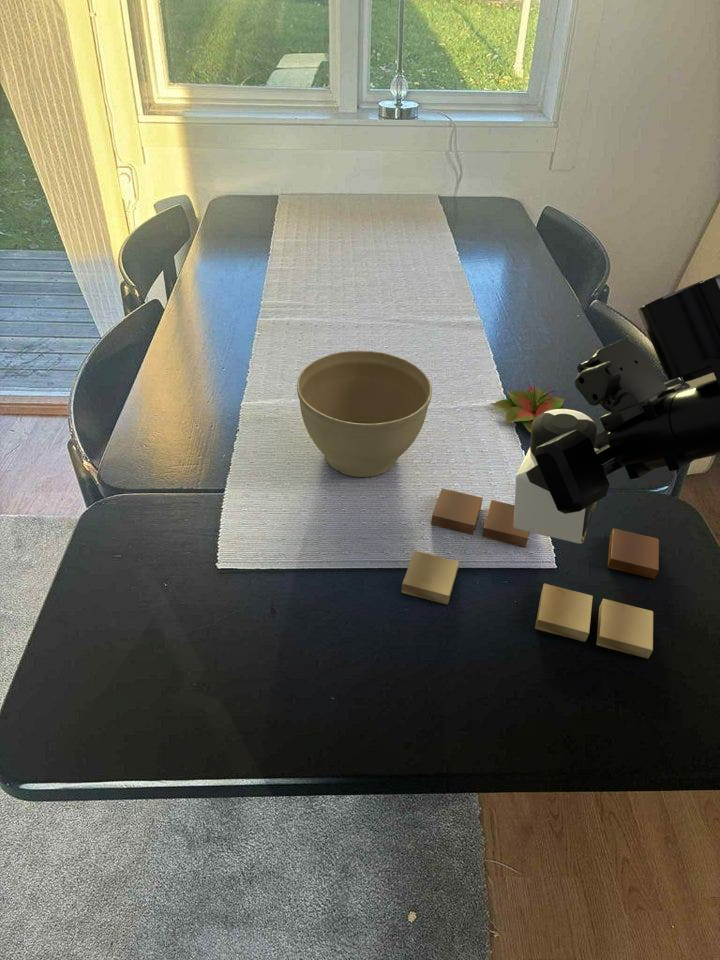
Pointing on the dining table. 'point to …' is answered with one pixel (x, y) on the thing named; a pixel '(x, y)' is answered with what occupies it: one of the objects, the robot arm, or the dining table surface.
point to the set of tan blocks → (546, 608)
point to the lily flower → (528, 405)
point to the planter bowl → (363, 409)
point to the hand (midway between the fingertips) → (560, 459)
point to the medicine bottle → (537, 503)
